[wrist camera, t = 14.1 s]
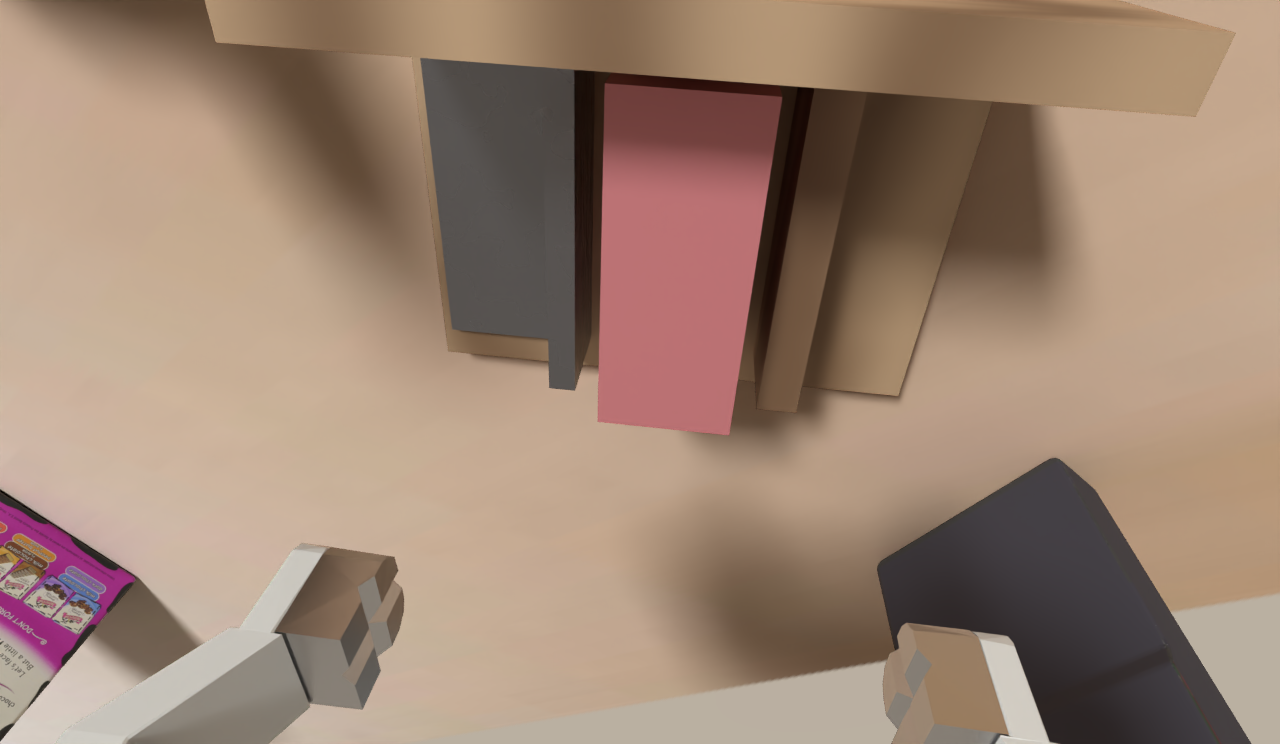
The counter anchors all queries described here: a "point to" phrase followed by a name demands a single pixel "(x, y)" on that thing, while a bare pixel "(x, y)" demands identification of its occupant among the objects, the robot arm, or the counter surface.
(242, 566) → the counter surface
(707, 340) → the boxed book
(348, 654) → the robot arm
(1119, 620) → the stepped charcoal slab
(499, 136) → the bookend
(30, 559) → the candy bar box
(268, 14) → the wooden shelf rack
